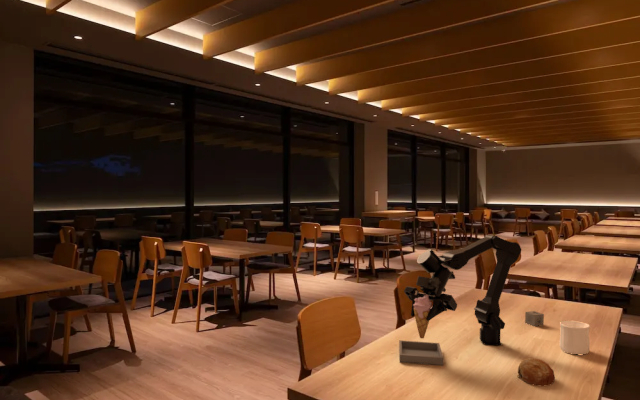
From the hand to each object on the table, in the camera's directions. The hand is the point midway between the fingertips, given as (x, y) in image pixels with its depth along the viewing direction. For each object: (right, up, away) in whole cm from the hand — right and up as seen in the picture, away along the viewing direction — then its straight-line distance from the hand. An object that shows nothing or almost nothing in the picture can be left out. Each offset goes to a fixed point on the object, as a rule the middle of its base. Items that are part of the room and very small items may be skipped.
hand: (419, 318), depth 147 cm
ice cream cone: (+1, -7, +1) cm, 7 cm away
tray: (+1, -13, +2) cm, 13 cm away
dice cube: (+58, -14, +39) cm, 71 cm away
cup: (+57, -14, +8) cm, 60 cm away
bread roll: (+32, -14, -16) cm, 38 cm away
